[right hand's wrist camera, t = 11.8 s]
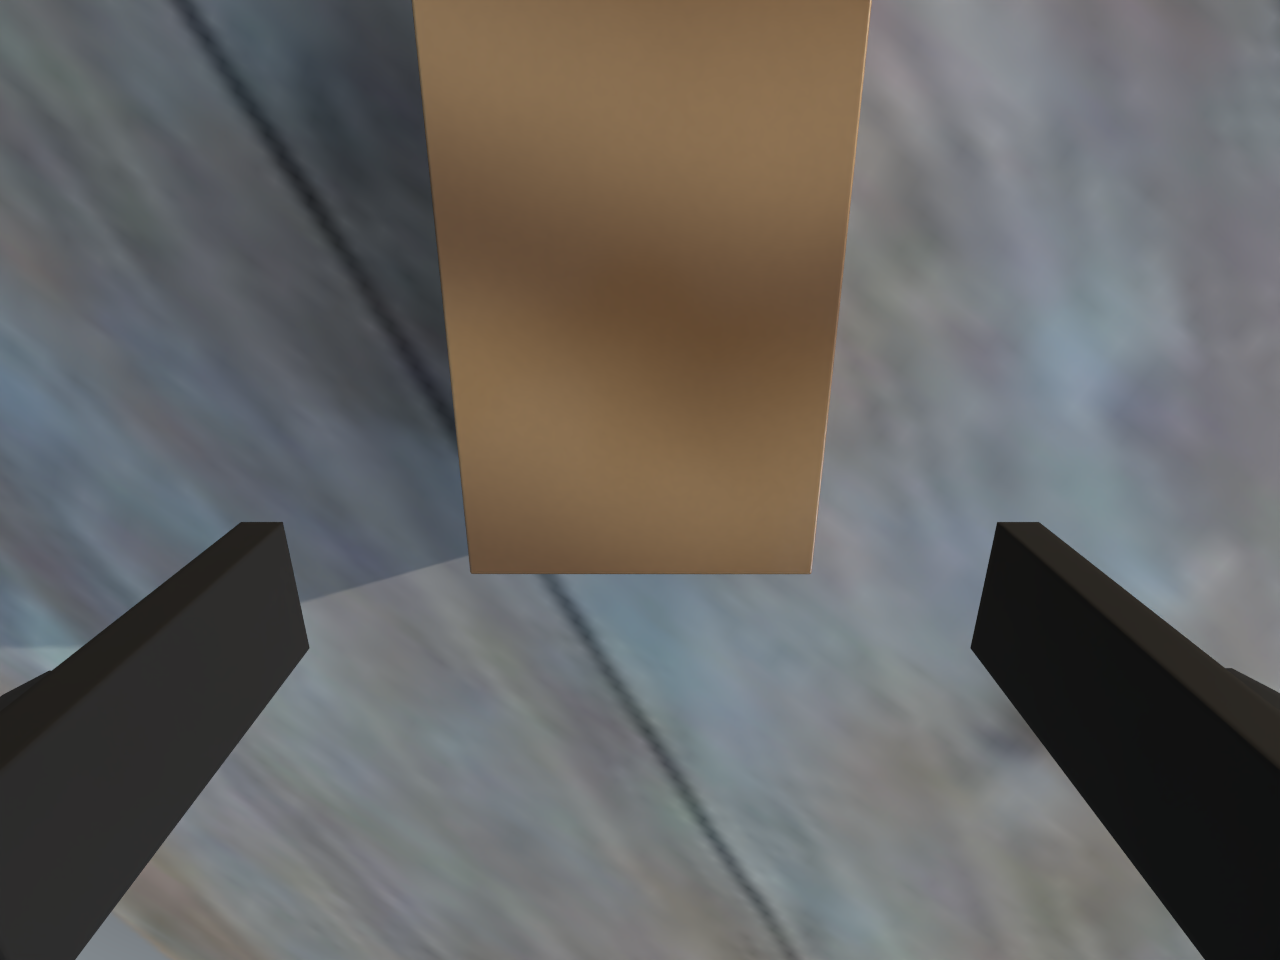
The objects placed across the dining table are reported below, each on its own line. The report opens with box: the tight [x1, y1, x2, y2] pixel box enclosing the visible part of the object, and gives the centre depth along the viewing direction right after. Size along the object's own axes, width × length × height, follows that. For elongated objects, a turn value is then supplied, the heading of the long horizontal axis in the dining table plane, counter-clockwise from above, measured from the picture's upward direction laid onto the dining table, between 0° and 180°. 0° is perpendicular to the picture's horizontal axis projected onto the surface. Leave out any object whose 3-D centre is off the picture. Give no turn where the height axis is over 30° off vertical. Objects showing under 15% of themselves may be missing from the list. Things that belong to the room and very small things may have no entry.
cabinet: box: [412, 0, 872, 574], centre depth 21 cm, size 18×10×9 cm, turn 0°
